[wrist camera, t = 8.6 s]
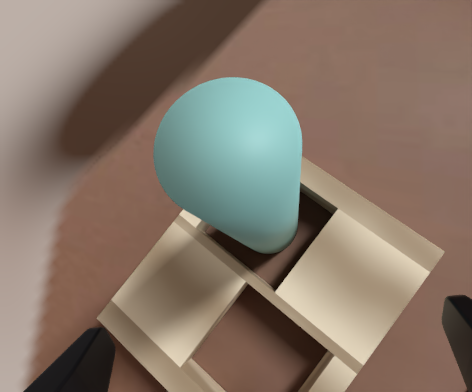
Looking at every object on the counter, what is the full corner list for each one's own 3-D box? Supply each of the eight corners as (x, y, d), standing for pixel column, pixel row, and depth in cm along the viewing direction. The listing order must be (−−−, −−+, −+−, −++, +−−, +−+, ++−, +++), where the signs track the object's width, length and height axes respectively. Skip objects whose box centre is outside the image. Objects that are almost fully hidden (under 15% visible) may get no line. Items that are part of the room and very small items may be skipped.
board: (272, 471, 18) (270, 495, 16) (114, 314, 21) (96, 318, 19) (429, 254, 19) (445, 251, 17) (256, 136, 22) (252, 122, 20)
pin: (273, 266, 20) (236, 253, 7) (227, 229, 21) (124, 162, 8) (309, 218, 20) (334, 127, 8) (262, 184, 21) (215, 52, 8)
